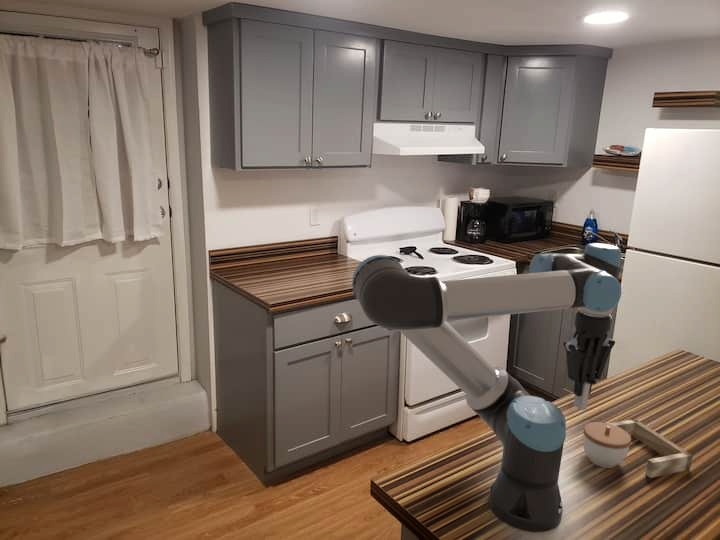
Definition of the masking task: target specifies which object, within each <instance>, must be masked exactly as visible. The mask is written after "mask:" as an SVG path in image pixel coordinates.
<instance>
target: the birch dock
mask: <svg viewBox="0 0 720 540" xmlns="http://www.w3.org/2000/svg"><path fill="white" fill-rule="evenodd" d="M607 423H608V422H607ZM608 424H612V425H615V426H617V427H619V428H621V429H623V430H625V431H626V432H627V433H628V434H629V435H630V437H634V438H636V439H637V440H638V441H640V442H641V443H643V444H644V445H646V447H647V446H648V447H649V448H650V449H652V450H653V451H655V452H656V453H657V454H660V455H661V456H660V457H654V458H649V459H647V464H646V468H645V473H644V475H646V476H647V477H648V478H650V479H651V478H655V477H661V476H667V475H671V474H676V473H681V472H684V471H690V469H691V465H692V461H693V454H692V453H690V452H688V450H685V449H684V448H682V447H681V446H679V445H677V444H675V443H674V442H673V441H671V440H669V439H668V438H666V436H665V437H664V435H661V434H660V433H658V432H657V431H655V430H653V429H652V428H651V427H649V426H647V425H645V424H644V423H642V422H641V421H639V420H638V419H636V418H634V419H627V420H622V421H615V422H609V423H608Z"/></svg>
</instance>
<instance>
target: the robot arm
mask: <svg viewBox="0 0 720 540" xmlns="http://www.w3.org/2000/svg"><path fill="white" fill-rule="evenodd" d="M621 263H622V250H621V248H619V246H616V245H613V244H609V243H601V242H600V243H599V242H592V243H588V244H587V243H586V245H585V248H584V251H583V253H582V252H581V253H551V252H547V253H537V254H536V255H534V256H533V257H532V259H531V261H530V263H529V269H528V271H529V272H528V273H518V274H508V275H497V276H489V277H488V276H486V277H476V278H475V277H474V278H463V279H453V280H442V281H441V279H439V278H438V277H436V276H428V277H426V276H425V277H421V276H415V275H411V274H410V273H409V272H408V271H407V270H406V269H404V268H403V267H404V266H403V265H402V264H401V263H400V262H399V261H398V260H397V259H394V258H393V257H392V256H388V255H384V254H377V255H372V256H368V257H367V258H366V259H364V260H362V261H361V262H360V263H359V264H358V266H357V267H356V268H355V270H354V273H353V275H352V277H351V278H352V280H351V283H352V284H351V285H352V293H353V295H354V297H355V299H356V300H357V301H358V303H359V305H360V306H361V309H362V311H363V313H364V315H365V316H366V317H367V319H368V320H369V321H370V322H371V323H373V324H375V325H376V326H378V327H380V328H383V329H386V330H387V331H390V332H398V331H399V332H400V334H402V335H403V336H404V337H405V338H406V339H407V340H408V341H409V342H410V343H411V344H412V345H413V346H415V347H416V348H417V349H418V350H419V351H420V352H421V353H422V354H423V355H424V356H425V357H426V358H428V360H429V361H430V362H431V363H432V364H434V365H435V366H436V367H437V368H438V369H439V370H440V371H441V372H442V373H443V374H444V375H445V376H446V377H447V378H448V379H449V380H450V381H452V382H453V383H454V384H455V385H456V386H457V387H458V388H459V389H460V390H461V391H462V392H463V393H464V394H465V402H466V404H467V405H468V407H469V408H470V409H472V410H473V412H474V413H475V414H477V416H479V418H481V419H482V420H483V421H484V422H485V424H487V425H488V426H489V428H490V429H491V430H492V432H493V433H494V435H495V436H496V437H497V439H498V441H500V443H501V444H502V454H501V455H502V457H501V464H500V465H501V466H500V470H499V471H498V473H497V476H496V479H495V481H494V482H493V483H492V485H491V486H490V488H489V489H490V490H489V494H488V495H489V496H488V504H489V505H488V506H489V508H490V510H491V512H492V513H493V514H494V515H495V516H496V517H497V518H498V519H500V520H501V521H502V522H504V523H506V524H507V525H510V526H511V527H514V528H516V529H519V530H523V531H528V532H546V531H550V530H552V529H554V528H557V527H558V525H560V522H561V521H562V516H563V509H564V506H563V502H562V496H561V492H560V487H559V478H560V477H559V475H560V470H561V464H562V457H563V450H564V444H565V441H566V437H567V436H566V435H567V433H566V431H567V429H566V427H567V423H566V417H565V415H564V413H563V412H562V410H561V409H560V408H559V407H558V406H557V405H556V404H554V403H553V402H551V401H546V400H545V399H544V398H542V397H538V396H535V395H531V394H529V393H528V391H527V390H526V389H525V388H524V387H523V385H522V384H521V383H520V382H519V381H518V380H517V379H516V378H514V377H513V376H511V374H510V373H509V372H508V371H507V370H506V369H504V368H503V367H500V366H493V365H491V364H490V363H489V362H488V361H487V360H486V359H485V358H484V357H483V356H482V355H481V354H480V353H479V352H478V350H476V349H475V348H474V347H473V346H472V345H471V344H470V343H469V342H468V341H467V340H466V339H465V338H464V337H463V336H462V335H461V334H460V333H459V332H458V331H457V330H456V329H455V328H454V327H453V326H452V325H451V324H450V323H449V321H457V320H459V321H460V320H461V321H462V320H469V319H479V318H488V317H489V318H490V317H497V316H499V317H500V316H506V315H507V316H508V315H517V314H527V313H534V312H535V313H536V312H537V313H538V312H544V311H554V310H564V309H575V308H576V309H577V310H576V311H575V317H574V318H575V319H574V327H575V332H574V333H573V338H572V339H571V340H569V341H567V340H566V341H564V342H563V348H564V350H565V353H566V367H567V378H568V379H569V380H571V381H573V382H574V387H573V394H574V398H573V406H574V407H576V408H577V409H578V410H580V411H584V410H585V411H586V410H587V408H588V402H589V395H591V392H592V386H593V385H595V384H597V381H596V380H600V379H601V377H602V376H603V372H604V370H605V367H606V364H607V361H608V358H609V356H610V352H611V351H612V349H613V347H614V346H615V344H616V341H615V340H614V339H612V338H610V337H608V336H609V334H608V333H609V331H610V330H611V326H612V320H613V317H612V313H613V311H614V308H615V307H616V306H617V305H618V303H619V302H620V299H621V297H622V285H621V283H620V281H619V276H620V270H621V267H622V266H621Z"/></svg>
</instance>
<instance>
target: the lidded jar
mask: <svg viewBox="0 0 720 540" xmlns="http://www.w3.org/2000/svg"><path fill="white" fill-rule="evenodd" d="M582 441H583V442H582V443H583V445H582V446H583V450H584V453H585V454H586V455H587V457H588V458H589V460H590V462H592V464H594V465H596V466H598V467H602V468H605V469H611V468H613V469H614V468H615V467H616V466H618V465H619V464H621V463H622V462H623V461H625V459H626V458H627V456H628V453H629V450H630V445H631V443H632V436H630V435H629V434H628V433H627V432H626V431H625V430H623V429H621V428H619V427H617V426H615V425H612V424H608V422H601V421H599V422H598V421H595V422H594V421H593V422H589V423H587V424H586V425H584V427H583V436H582Z"/></svg>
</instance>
